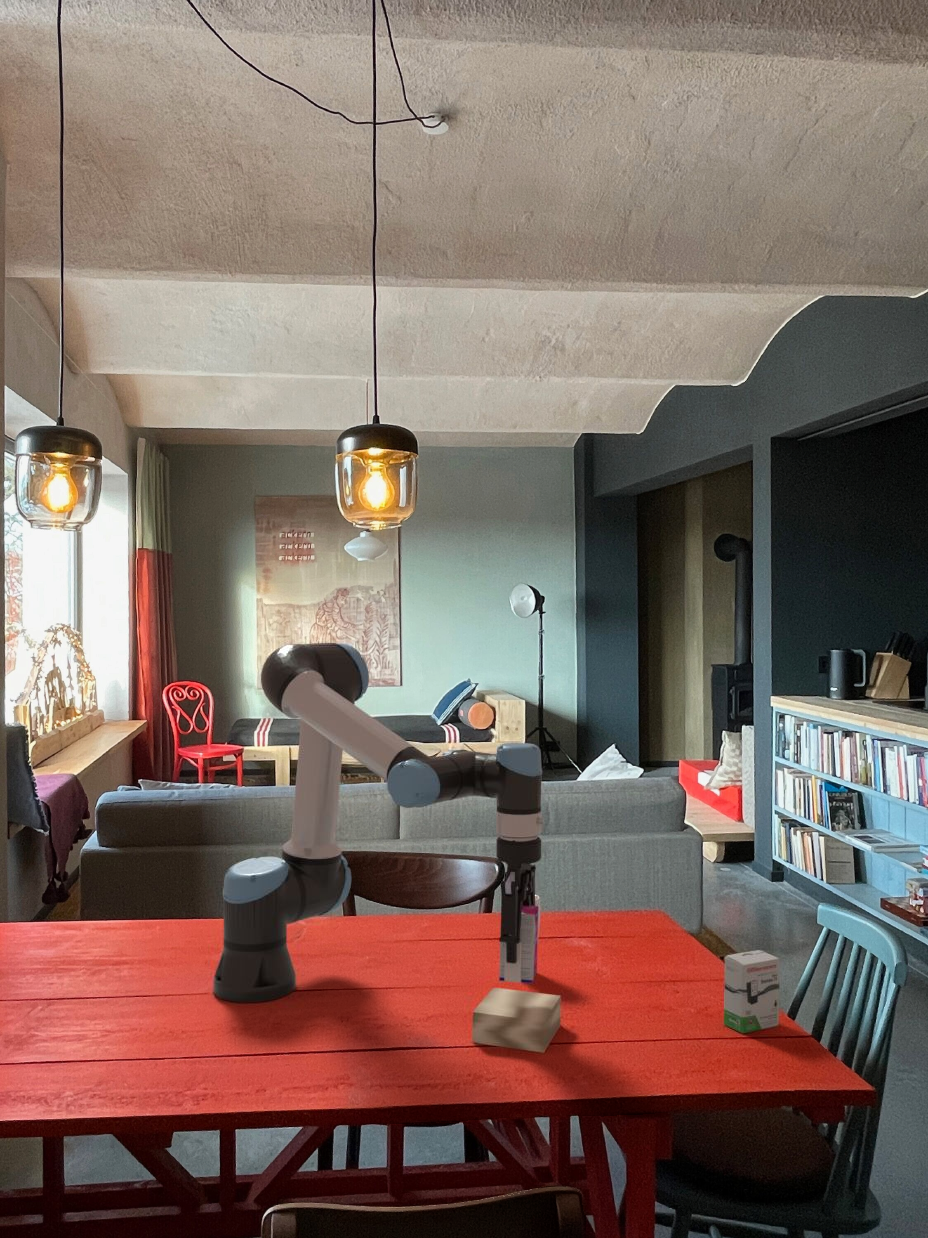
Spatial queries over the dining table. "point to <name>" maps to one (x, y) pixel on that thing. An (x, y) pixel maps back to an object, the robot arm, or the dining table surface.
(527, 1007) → the maple block
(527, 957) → the supplement box
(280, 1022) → the dining table surface
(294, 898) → the robot arm
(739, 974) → the ink box
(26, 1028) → the dining table surface
